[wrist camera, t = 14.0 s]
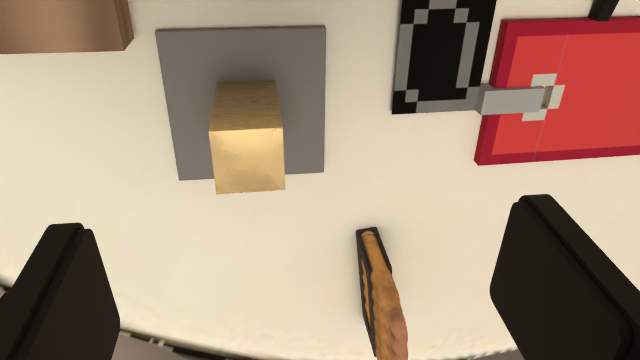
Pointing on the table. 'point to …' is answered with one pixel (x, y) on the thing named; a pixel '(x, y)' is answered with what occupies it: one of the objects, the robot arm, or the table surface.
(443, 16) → the red board with handle
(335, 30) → the table surface
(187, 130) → the rubber mat
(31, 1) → the socket block
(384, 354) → the ammunition clip
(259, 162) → the wooden block
